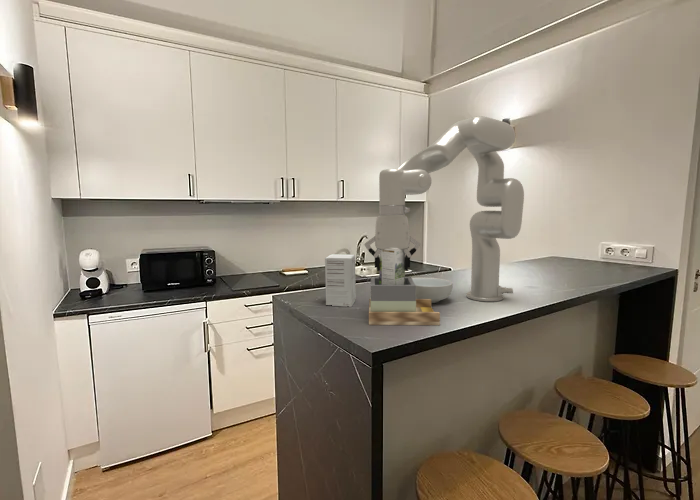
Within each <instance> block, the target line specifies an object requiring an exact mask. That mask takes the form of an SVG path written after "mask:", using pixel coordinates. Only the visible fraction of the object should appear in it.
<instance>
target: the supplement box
mask: <svg viewBox="0 0 700 500" xmlns="http://www.w3.org/2000/svg"><path fill="white" fill-rule="evenodd" d="M324 267H325V268H324V272H325V273H324V274H325V275H324V277H325V306H326V305H332V306H331V307H347V306H349V307H351V308H352V306H353V305H354V303H355V301H356V298H357V297H356V254H343V253H342V254H341V253H339V254H338V253H337V254H336V253H332V254H329V255H328V256H326V257H325V258H324ZM349 307H348V308H349Z"/></svg>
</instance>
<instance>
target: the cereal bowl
mask: <svg viewBox="0 0 700 500" xmlns="http://www.w3.org/2000/svg"><path fill="white" fill-rule="evenodd" d="M411 278H412V280H413V282H414V284H415V285H416V299H431V304H436V303H439V302H440V301H442V300H445V299H447V298H449V297H450V296H451V294H452V292H453V282H452V281H451V280H449V279H445V278H438V277H437V278H436V277H411Z"/></svg>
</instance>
